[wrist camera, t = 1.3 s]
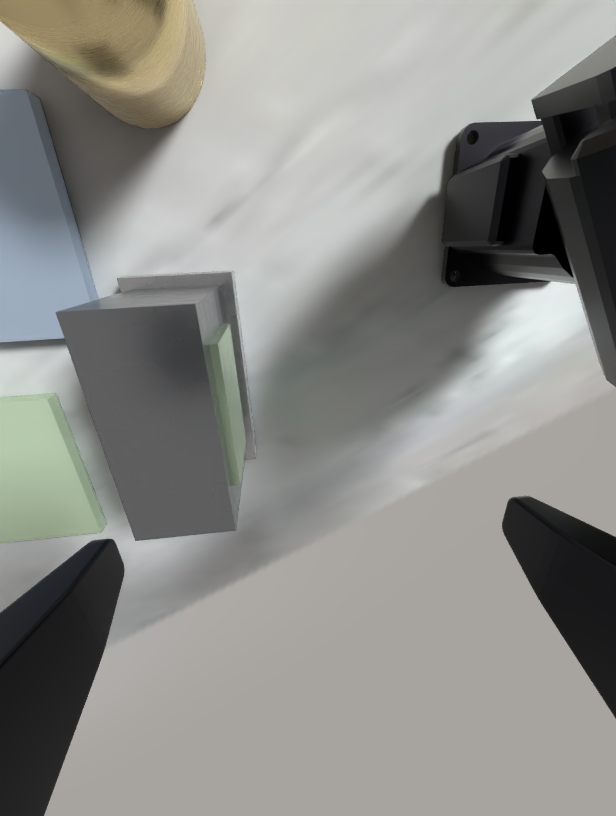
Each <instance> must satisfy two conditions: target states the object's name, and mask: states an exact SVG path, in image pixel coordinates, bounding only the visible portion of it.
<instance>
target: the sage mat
mask: <svg viewBox="0 0 616 816" xmlns="http://www.w3.org/2000/svg"><path fill="white" fill-rule="evenodd" d="M106 524H107V523H106V521H105V518H104V515H103V513H102V510H101V508H100V505H99V503H98V500H97V497H96V495H95V492H94V490H93V487H92V484H91V482H90V479H89V477H88V474H87V472H86V469H85V466H84V464H83V461H82V459H81V456H80V454H79V451H78V448H77V446H76V443H75V441H74V438H73V436H72V433H71V430H70V428H69V425H68V423H67V420H66V417H65V415H64V412H63V410H62V407H61V405H60V402H59V399H58V397H57V394H56V393H55V394H42V395H28V396H15V397H2V398H0V543H6V542H16V541H26V540H35V539H45V538H55V537H65V536H75V535H85V534H94V533H101V532H102V530H103V529H104V527H105V525H106Z"/></svg>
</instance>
